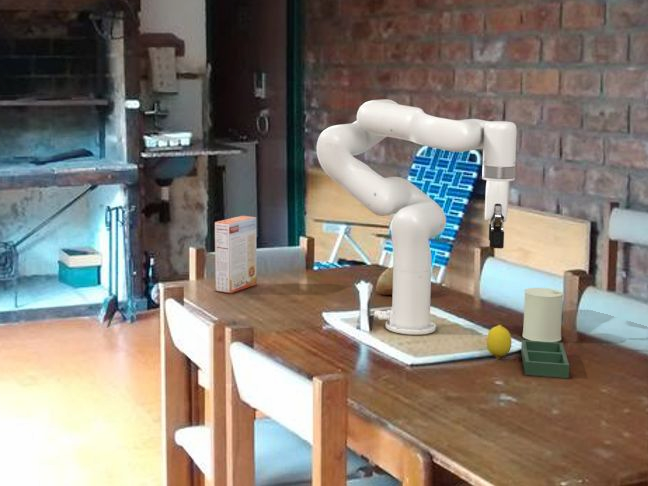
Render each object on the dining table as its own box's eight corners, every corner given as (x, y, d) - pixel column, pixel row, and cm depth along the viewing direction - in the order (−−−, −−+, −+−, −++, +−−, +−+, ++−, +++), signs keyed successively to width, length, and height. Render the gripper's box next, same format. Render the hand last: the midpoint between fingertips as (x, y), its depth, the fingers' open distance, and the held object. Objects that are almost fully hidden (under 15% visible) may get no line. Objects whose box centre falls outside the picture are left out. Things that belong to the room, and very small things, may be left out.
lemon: (511, 356, 234) (512, 323, 233) (509, 363, 229) (511, 329, 228) (486, 354, 236) (488, 320, 235) (484, 361, 231) (486, 326, 230)
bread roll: (431, 294, 294) (432, 267, 293) (387, 299, 288) (388, 271, 287) (413, 287, 303) (413, 261, 302) (369, 292, 297) (370, 265, 296)
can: (563, 343, 245) (565, 295, 243) (523, 341, 247) (525, 293, 245) (559, 333, 254) (561, 286, 252) (520, 331, 256) (522, 284, 254)
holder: (525, 375, 221) (525, 361, 221) (521, 352, 238) (521, 339, 237) (568, 378, 219) (569, 364, 218) (561, 355, 236) (562, 342, 235)
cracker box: (241, 282, 308) (241, 214, 306) (257, 285, 305) (258, 216, 302) (213, 291, 297) (213, 220, 294) (230, 294, 293) (230, 222, 291)
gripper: (481, 168, 250) (479, 237, 252) (482, 177, 233) (480, 250, 235) (513, 169, 248) (510, 238, 250) (516, 178, 231) (513, 251, 233)
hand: (495, 244), depth 242 cm, fingers open, 9 cm apart
